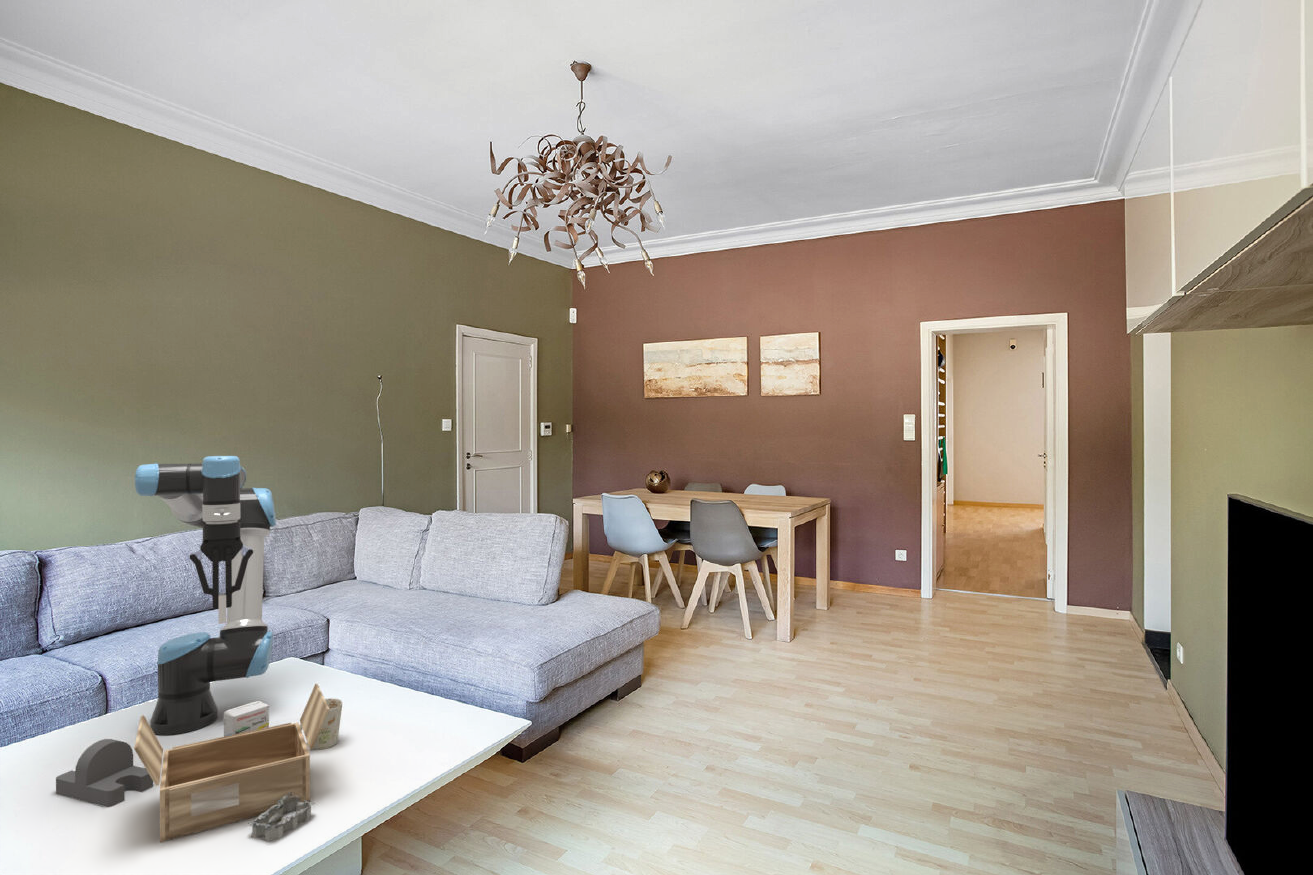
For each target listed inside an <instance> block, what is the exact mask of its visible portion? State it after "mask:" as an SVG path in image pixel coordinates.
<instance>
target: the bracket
mask: <svg viewBox="0 0 1313 875" xmlns="http://www.w3.org/2000/svg"><path fill="white" fill-rule="evenodd" d="M133 750H134V749H133V748H132V747H131V745H130V744H129V743H127V742H125V741H122V740H118V739H112V738H104V739H101V740H98V741H96V742H94V743H92V744H91V745H89V747H87V748H86V749H85V750H84V751H83V752H82V753H81V755H80V757H79V758H78V760H77V762H76V765H75V770H69V771H67V772H65V773H62V774H60V775H57V776H56V777H55V794H56V795H59V796H63V797H67V798H71V799H74V800H79V801H83V802H85V803H90V804H93V805H98V806H101V807H105V808H111V807H114V806H116V805H119V804H121V803H123V802H124V801H125V797H126V796H125V795H126V794H125V793H126V792H127V791H135V792H140V793H143V792H146V791H148V790H149V789H152V788H153V787H154V782H153V780H152V778H151V777H150V775H149V773H148V772H147V770H146V768H145V767H141V766H136V765H134V751H133Z"/></svg>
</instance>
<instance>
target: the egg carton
mask: <svg viewBox="0 0 1313 875" xmlns="http://www.w3.org/2000/svg"><path fill="white" fill-rule="evenodd" d="M291 793H292V792H290V793H289V794H286V795H285V796H283V797H281V798H280V799H279V800H278V802H277V804H276V805H274V806H271V807H270V809H269V810H267V811H266V812H265V813H262V814H261V815H260V816H256V818H255V819H254V820H252V821H251V822H248V823H247V825H249V826H250V827H251V829H252V838H255V839H256V838H258V837H261V836H264V837H265V838H264V841H266V842H270V841H272V840H280V839H281V838H283V836H284V832H287V831H288V830H296V828H297V827H298V823H300V822H302V821H308V820H310V819H311V818H312V814H311V813H312V805H314V804H315V802H312V800H310V802H307V800H304V802H301V801H300V798H299V797H298V796H296V795H293V794H291ZM294 811H295V814H294V815H290V816H286V817H284V814H286V813H291V812H294Z"/></svg>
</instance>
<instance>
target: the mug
mask: <svg viewBox="0 0 1313 875" xmlns="http://www.w3.org/2000/svg"><path fill="white" fill-rule="evenodd" d="M325 700H326V703H327V705H328V707H329V711H328V714H327V716H326V718H325V721H324V723H323V726H322V728H321V730H320V733H319V735H318V738H317V740H316V742H315V745H314V747H313V749H314V750H325V749H329V748H331V747H333V746H335V745H336V744H337V743H338V741H339V735H340V734H339V733H340V726H341V719H342V718H341V717H342V711H343V701H342V700H341V699H339V698H325ZM299 725H300V728H301V731H302V732H303V729H302V726H301V723H299ZM305 742H306V745H307V747H309V746H308V743H307V741H305Z"/></svg>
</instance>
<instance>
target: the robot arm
mask: <svg viewBox="0 0 1313 875" xmlns="http://www.w3.org/2000/svg"><path fill="white" fill-rule="evenodd" d="M240 461H241V460H240V458H239V457H238V456H237V455H213V456H212V455H211V456H205V457H204V458H203V460H202V462H199V463H194V462H193V463H149V464H148V463H147V464H141V465H139V466H138V467H137V468H136V470H135V474H134V487H135V491H136V493H137V495H139V496H141V497H142V496H145V497H155V496H157V497H159V498H160V499H162V501H163V502H164V503H166V505H167V506H169V507H170V511H171V513H172V515H173V516H174V517H175V518H176V519H177V520H179V521H181V522H182V523H184V524H187V525H189V526H193V527H197V528H201V529H202V542H201V544H200V546H199V549H198V550H196V551H194V552H191V553H190V554H189V560H190V561H191V562H192V563H193V564H194V566H195V569H196V572H197V575H198V578H199V582H200V585H201V588H202V592H203V594H205V595H210V596H212V609H213V610H218V612H217V613H218V624H219V625H220V624H224V626H222V628H221V629H219V636H218V637H211V635H210V633H209V632H195V633H188V634H184V635H181V636H177V637H174V638H172V639H170V640H167V641H165V642H164V643H163V644H161V645H160V646H159V648H158V652H157V662H156V664H157V702H156V704H155V708H154V711H153V713H152V716H151V718H150V721H149V722H150V723H149V725H150V727H151V729H152V730H153V732H154V734H155V735H161V736H163V735H164V736H169V735H178V734H185V733H188V732H189V733H190V732H193V731H196V730H200V729H202V728H205V727H207V726H210V725H211V724H212V723H214V722H215V721H217V719H218V717H219V716H218V715H219V712H218V706H217V704H216V701H215V699H214V697H213V694H212V692H211V682H223V681H228V680H237V679H244V678H246V679H248V678H250V677H255V676H256V677H257V676H261V675H263V674H265V673H266V672H267V670H268V669H269V665H270V663H271V662H270V660H271V657H272V651H273V643H274V632H273V631H271V630H270V631H269V630H268V629H269V626H268V625H267V624H266V623H265V622H264V620H263V595H264V594H263V592H264V589H263V588H264V586H263V585H264V584H263V583H264V556H265V554H264V553H265V552H264V550H265V538H266V537H267V536H269V534H270V533H271V528H273V527H275V526H276V525H277V522H276V521H277V519H276V518H277V517H276V509H275V503H274V498H273V494H272V491H271V490H270V489H268V488H263V487H259V488H258V487H245V488H243V487H244V486H245V483H246V482H247V472H246V470H245V468H244V467H243V466H241V462H240ZM203 555H204V556H206V558H207V559H208V561H210V562H211V563H212V569H211V570H212V572H211V573H212V585H211V586H212V587H210V586H209V583H208V579H207V577H206V573H205V570H204V567H203V564H202V561H201V560H202V559H203ZM220 562H224V564H225V565H224V566H225V568H224V570H225V579H224V580H225V592H223V593H220V588H219V587H220V573H219V572H220V570H219V568H220Z"/></svg>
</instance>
